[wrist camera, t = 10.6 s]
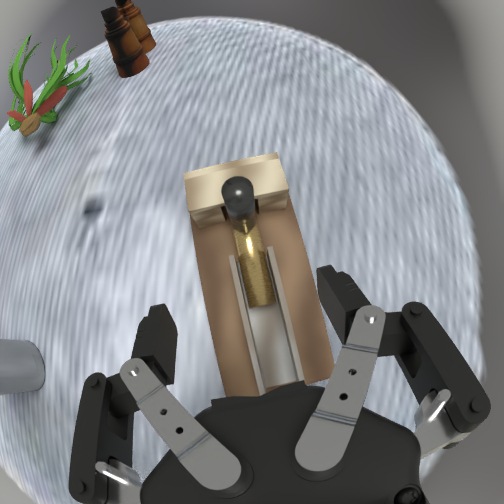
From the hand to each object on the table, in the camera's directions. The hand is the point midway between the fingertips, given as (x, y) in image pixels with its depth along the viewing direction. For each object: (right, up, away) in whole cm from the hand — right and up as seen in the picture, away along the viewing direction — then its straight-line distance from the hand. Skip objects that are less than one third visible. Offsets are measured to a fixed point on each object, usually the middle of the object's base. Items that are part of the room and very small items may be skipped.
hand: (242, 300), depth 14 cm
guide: (+1, -1, +21) cm, 21 cm away
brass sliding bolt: (0, +3, +21) cm, 21 cm away
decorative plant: (-50, +40, +36) cm, 73 cm away
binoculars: (-29, +53, +38) cm, 71 cm away
